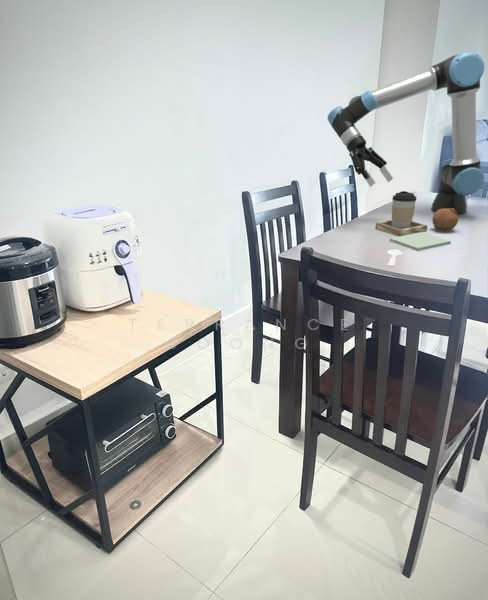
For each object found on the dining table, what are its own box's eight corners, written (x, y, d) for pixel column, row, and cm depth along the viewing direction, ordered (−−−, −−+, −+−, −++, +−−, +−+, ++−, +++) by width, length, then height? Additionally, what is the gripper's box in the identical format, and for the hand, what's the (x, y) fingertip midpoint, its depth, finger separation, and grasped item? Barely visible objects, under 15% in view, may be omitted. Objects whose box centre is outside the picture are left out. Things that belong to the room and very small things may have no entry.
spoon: (381, 266, 142) (382, 264, 142) (388, 249, 157) (388, 248, 157) (399, 268, 140) (399, 266, 140) (404, 251, 155) (404, 249, 155)
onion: (451, 236, 178) (466, 215, 174) (443, 235, 171) (459, 213, 166) (431, 224, 183) (446, 203, 178) (423, 223, 176) (438, 201, 171)
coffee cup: (413, 233, 174) (418, 195, 167) (389, 232, 175) (394, 195, 169) (410, 227, 182) (415, 190, 175) (387, 226, 183) (391, 190, 177)
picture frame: (401, 223, 187) (401, 218, 186) (426, 231, 175) (427, 225, 174) (375, 228, 182) (375, 222, 180) (399, 236, 170) (400, 230, 169)
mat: (421, 234, 172) (421, 232, 171) (450, 243, 160) (450, 241, 160) (389, 240, 166) (389, 238, 165) (417, 250, 154) (418, 248, 154)
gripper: (364, 145, 192) (391, 183, 188) (329, 150, 176) (358, 192, 172) (376, 132, 186) (404, 172, 182) (341, 136, 170) (372, 180, 167)
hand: (382, 182), depth 177 cm, fingers open, 13 cm apart
